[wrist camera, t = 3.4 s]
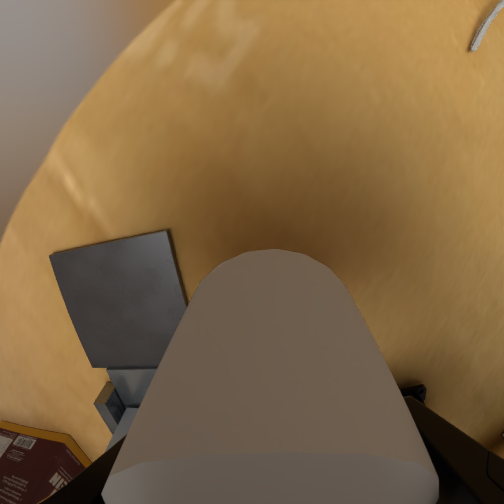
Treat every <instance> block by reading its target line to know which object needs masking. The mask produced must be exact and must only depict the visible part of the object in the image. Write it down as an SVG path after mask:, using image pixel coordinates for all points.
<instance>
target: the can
mask: <svg viewBox="0 0 504 504" xmlns="http://www.w3.org/2000/svg"><path fill="white" fill-rule="evenodd" d="M101 495H102V497H103V500H104V502H105V504H436V502H437V500H438V498H439V478H438V476H437V473H436V471H435V468H434V466H433V464H432V461H431V459H430V456H429V454H428V452H427V449H426V447H425V445H424V443H423V440H422V438H421V436H420V433H419V431H418V429H417V427H416V424H415V422H414V420H413V418H412V416H411V413H410V411H409V409H408V407H407V405H406V403H405V401H404V398H403V396H402V394H401V392H400V390H399V388H398V386H397V384H396V382H395V380H394V378H393V376H392V374H391V371H390V369H389V367H388V365H387V363H386V361H385V359H384V357H383V355H382V353H381V351H380V350H379V348H378V346H377V344H376V342H375V340H374V338H373V336H372V334H371V332H370V330H369V328H368V326H367V324H366V323H365V321H364V319H363V317H362V315H361V313H360V311H359V309H358V308H357V306H356V304H355V302H354V300H353V298H352V296H351V295H350V293H349V291H348V289H347V287H346V286H345V285H344V284H343V283H342V281H341V280H340V279H339V278H338V277H337V276H336V275H335V274H334V272H333V271H332V270H331V269H330V268H329V267H327V266H325V265H324V264H322V263H320V262H318V261H316V260H315V259H313V258H311V257H309V256H307V255H306V254H302V253H297V252H292V251H286V250H281V249H267V250H258V251H249V252H245V253H242V254H240V255H238V256H236V257H233V258H231V259H229V260H227V261H225V262H222V263H220V264H219V265H218V266H217V267H216V268H215V269H213V270H212V271H211V272H210V273H209V274H208V275H207V276H206V277H205V278H204V279H203V280H202V281H200V283H199V285H198V287H197V289H196V291H195V293H194V295H193V297H192V299H191V301H190V303H189V305H188V307H187V309H186V311H185V313H184V315H183V317H182V319H181V321H180V323H179V325H178V327H177V329H176V331H175V333H174V335H173V337H172V339H171V341H170V343H169V345H168V348H167V350H166V352H165V354H164V356H163V358H162V360H161V362H160V364H159V366H158V368H157V371H156V373H155V375H154V377H153V379H152V381H151V383H150V385H149V388H148V390H147V392H146V394H145V396H144V398H143V401H142V403H141V405H140V407H139V409H138V411H137V414H136V416H135V418H134V420H133V422H132V425H131V427H130V429H129V431H128V434H127V436H126V438H125V440H124V442H123V445H122V447H121V449H120V452H119V454H118V456H117V458H116V461H115V463H114V465H113V468H112V470H111V472H110V474H109V477H108V479H107V481H106V484H105V486H104V489H103V491H102V493H101Z"/></svg>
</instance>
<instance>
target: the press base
mask: <svg viewBox="0 0 504 504" xmlns="http://www.w3.org/2000/svg"><path fill="white" fill-rule="evenodd" d="M49 258H50V261H51V264H52V268H53V271H54V274H55V277H56V280H57V283H58V286H59V288H60V291H61V294H62V297H63V299H64V302H65V305H66V307H67V310H68V313H69V315H70V318H71V320H72V323H73V325H74V327H75V330H76V332H77V335H78V337H79V339H80V341H81V344H82V346H83V348H84V350H85V353H86V355H87V357H88V359H89V361H90V363H91V365H92V367H93V368H107V369H106V371H107V373H108V375H109V377H110V379H111V381H112V382H107V383H106V384H105V386H104V387H103V389H102V390H101V392H100V394H99V395H98V397H97V398H96V400H95V402H94V405H95V407H96V408H97V410H98V412H99V413H100V415H101V417H102V418H103V420H104V422H105V423H106V425H107V426H108V428H109V430H110V431H111V433H112V434H114V432H115V430H116V428H117V426H118V424H119V422H120V420H121V418H122V416H123V414H124V412H125V410H126V408H139V407H140V405H141V403H142V401H143V398H144V396H145V394H146V392H147V390H148V388H149V385H150V383H151V381H152V379H153V377H154V375H155V373H156V371H157V368H158V366H159V364H160V362H161V360H162V358H163V356H164V354H165V352H166V350H167V348H168V345H169V343H170V341H171V339H172V337H173V335H174V333H175V331H176V329H177V327H178V325H179V323H180V321H181V319H182V317H183V315H184V313H185V311H186V309H187V307H188V301H187V298H186V294H185V290H184V287H183V283H182V279H181V275H180V272H179V268H178V264H177V260H176V256H175V252H174V248H173V244H172V240H171V236H170V232H169V229H166V230H161V231H156V232H151V233H146V234H141V235H136V236H131V237H126V238H121V239H116V240H111V241H107V242H102V243H97V244H92V245H88V246H83V247H79V248H74V249H70V250H65V251H61V252H56V253H53V254H51V255H49Z"/></svg>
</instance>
